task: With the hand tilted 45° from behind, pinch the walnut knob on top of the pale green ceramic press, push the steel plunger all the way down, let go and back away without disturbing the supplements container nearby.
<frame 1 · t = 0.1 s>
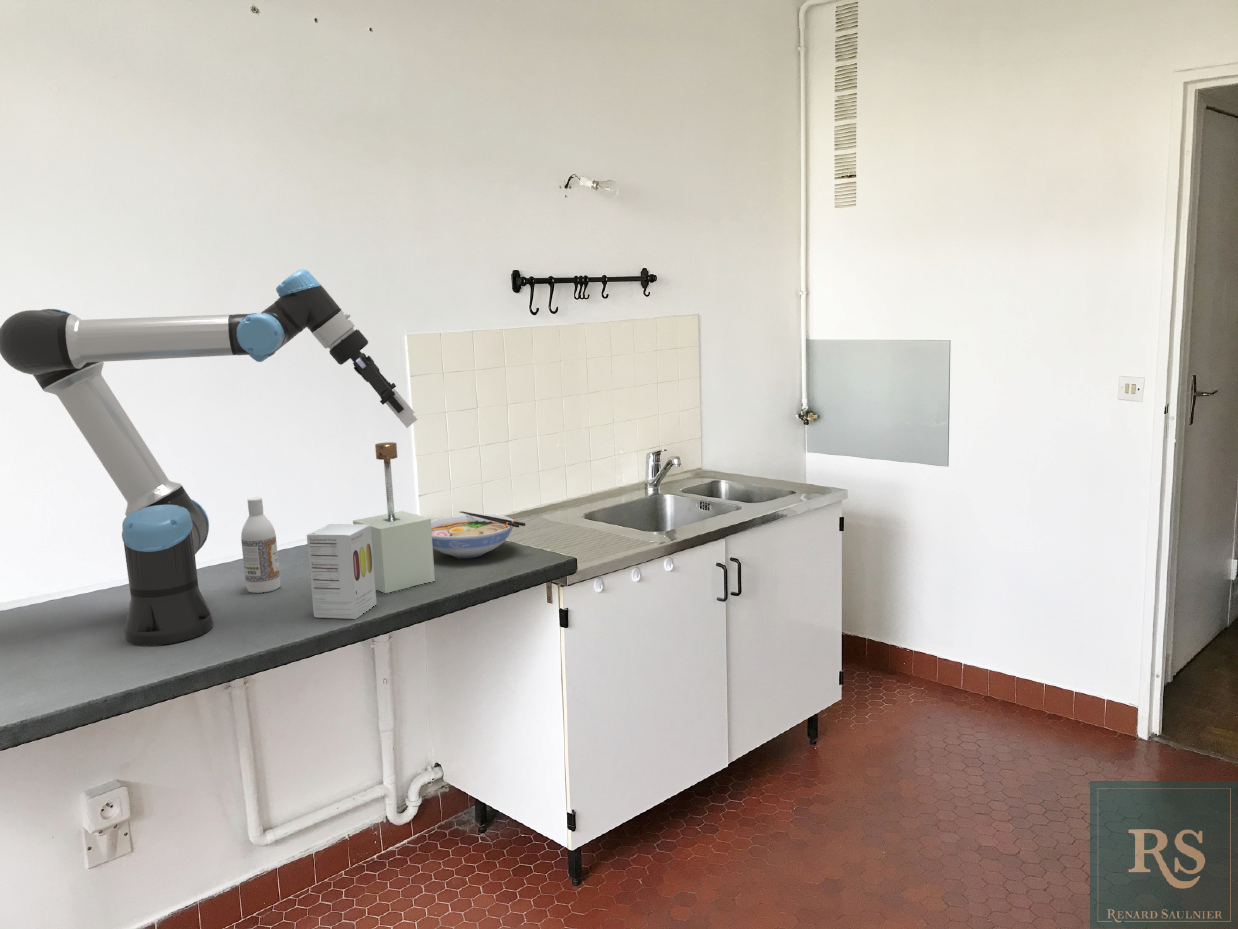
hand: (411, 420, 201), 36 cm above the table, tool tilted 35°, fingers open, 13 cm apart
bath foam: (263, 589, 210), on the table
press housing: (396, 582, 211), on the table
ramen bowl: (468, 555, 232), on the table
plunger: (389, 487, 207), point 21 cm above the table, slide at 0.0 cm
supplement box: (346, 612, 193), on the table
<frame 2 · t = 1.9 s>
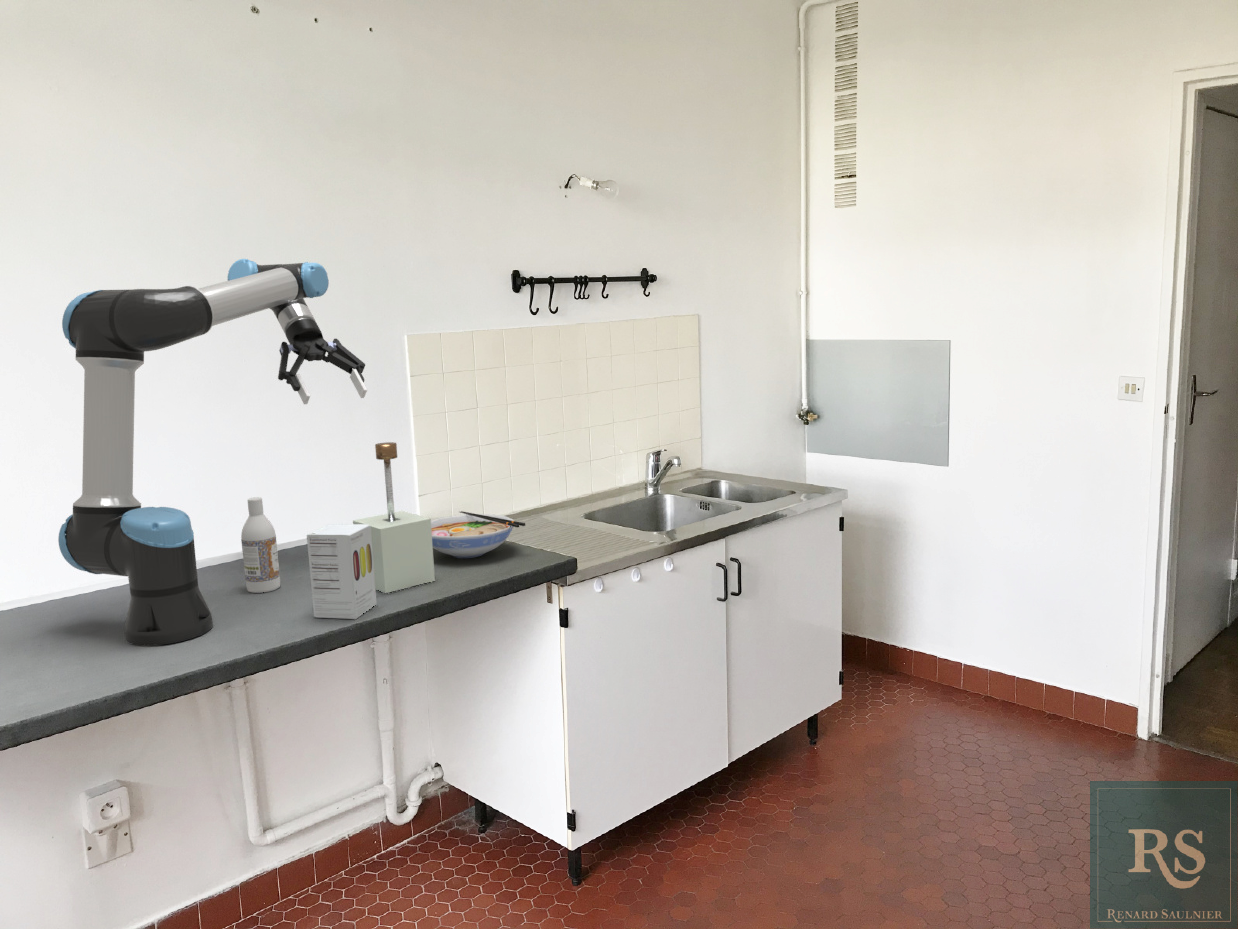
hand: (336, 397, 216), 40 cm above the table, tool tilted 45°, fingers open, 13 cm apart
nothing on the table moved.
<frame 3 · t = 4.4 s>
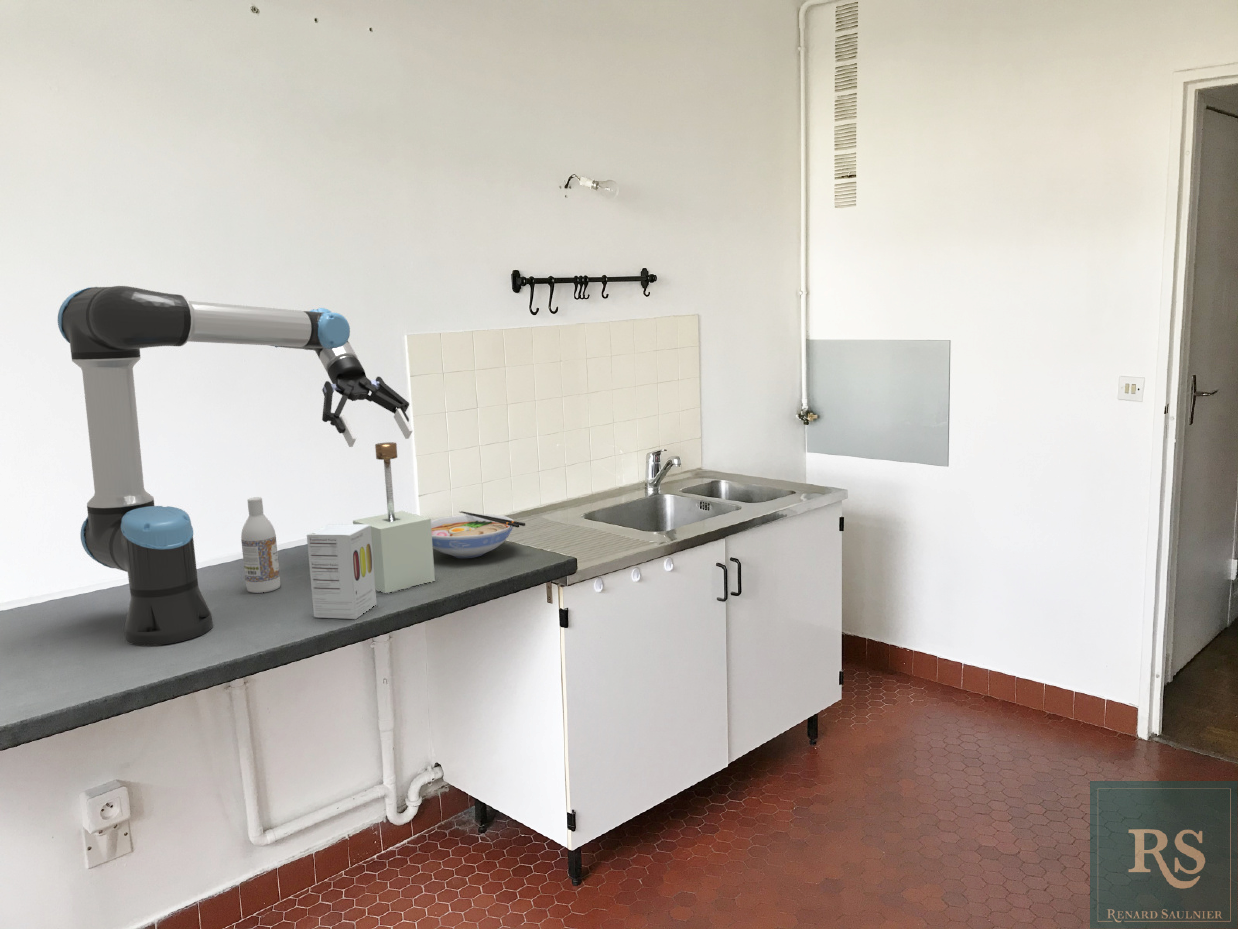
hand: (381, 438, 209), 31 cm above the table, tool tilted 45°, fingers open, 13 cm apart
nothing on the table moved.
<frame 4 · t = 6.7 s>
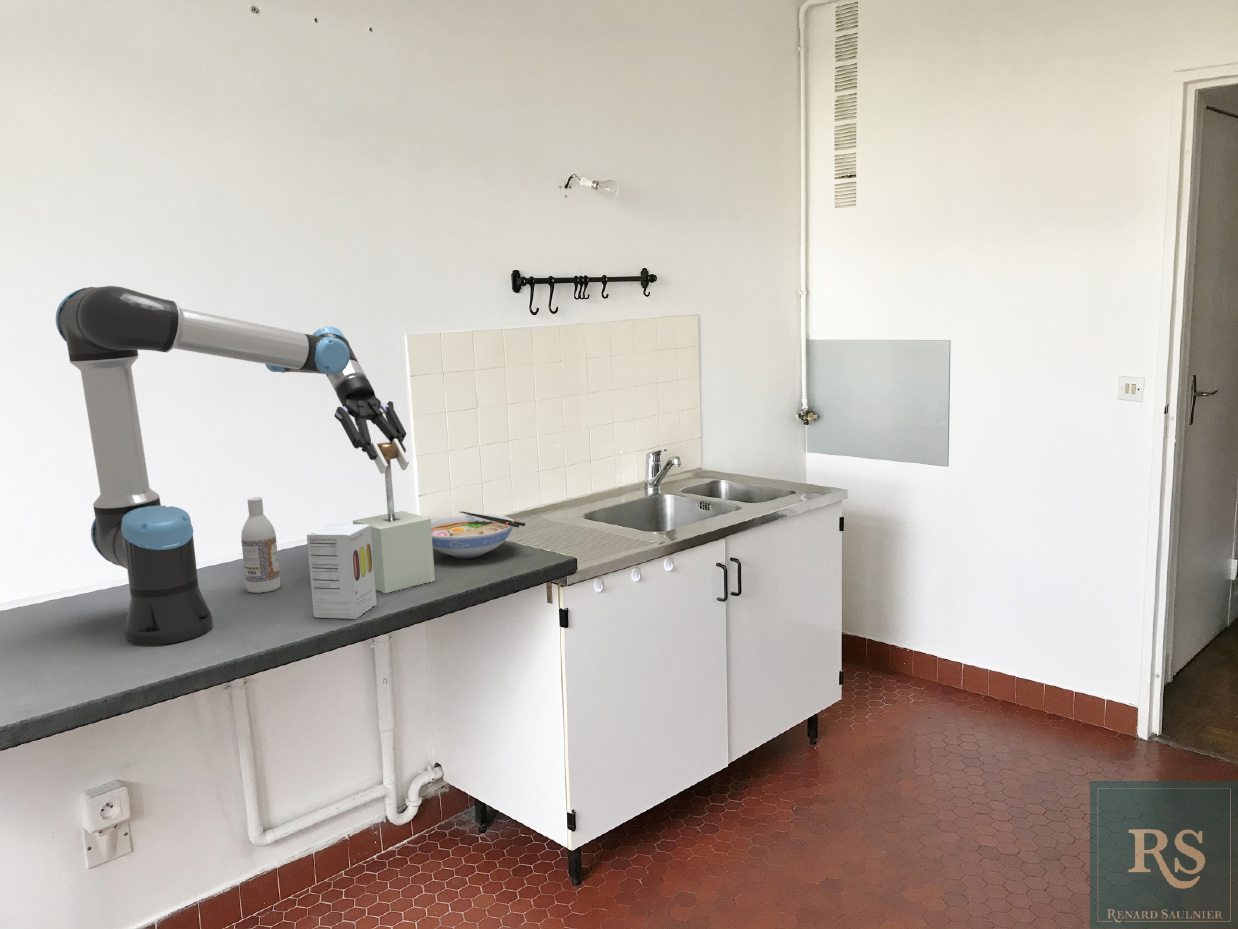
hand: (395, 467, 204), 26 cm above the table, tool tilted 45°, fingers closed on plunger, 4 cm apart
plunger: (389, 487, 207), point 21 cm above the table, slide at 0.0 cm, touching gripper
everything else where it was.
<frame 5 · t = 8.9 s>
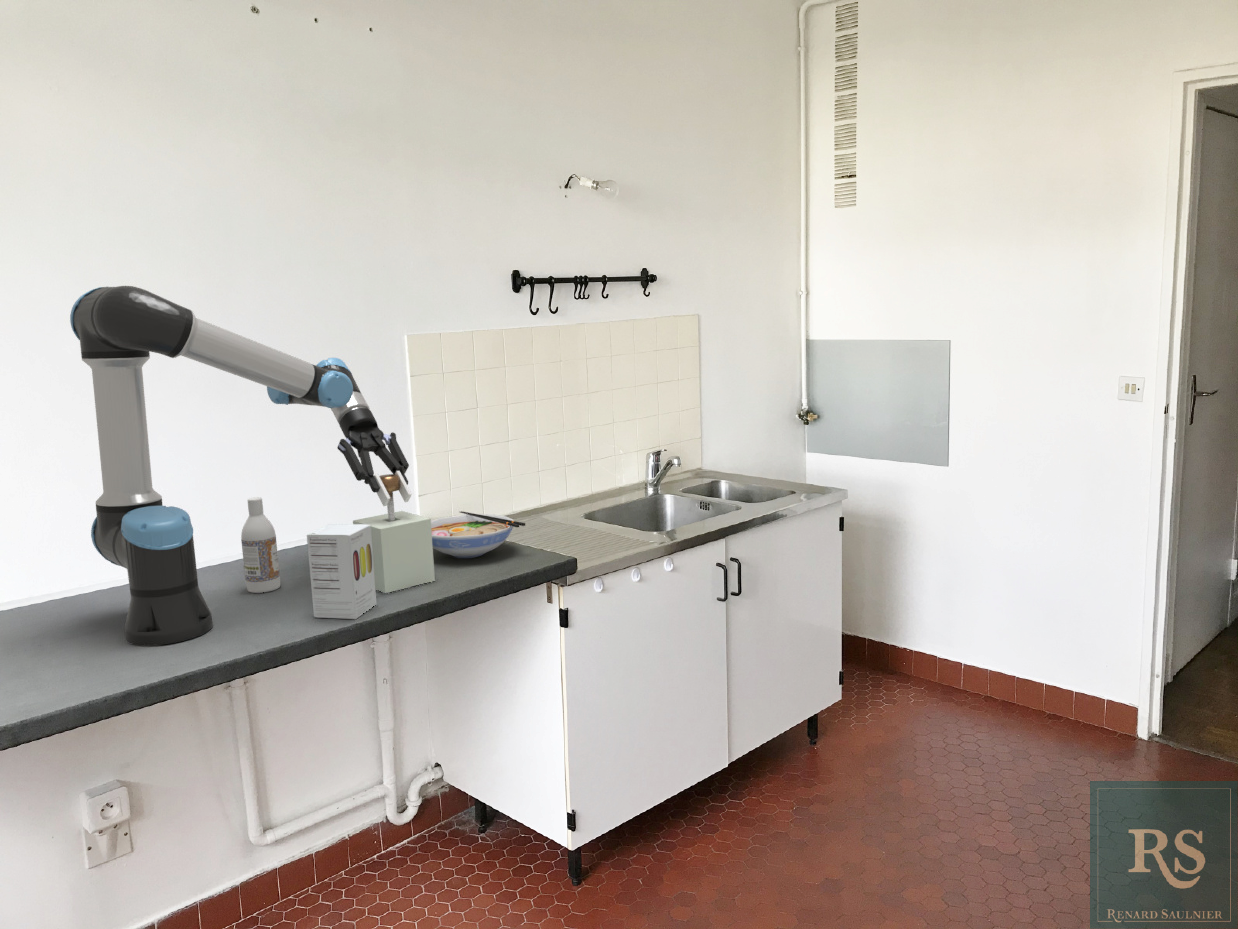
hand: (397, 500, 205), 19 cm above the table, tool tilted 45°, fingers closed on plunger, 4 cm apart
plunger: (391, 518, 209), point 14 cm above the table, slide at 7.0 cm, touching gripper
everything else where it was.
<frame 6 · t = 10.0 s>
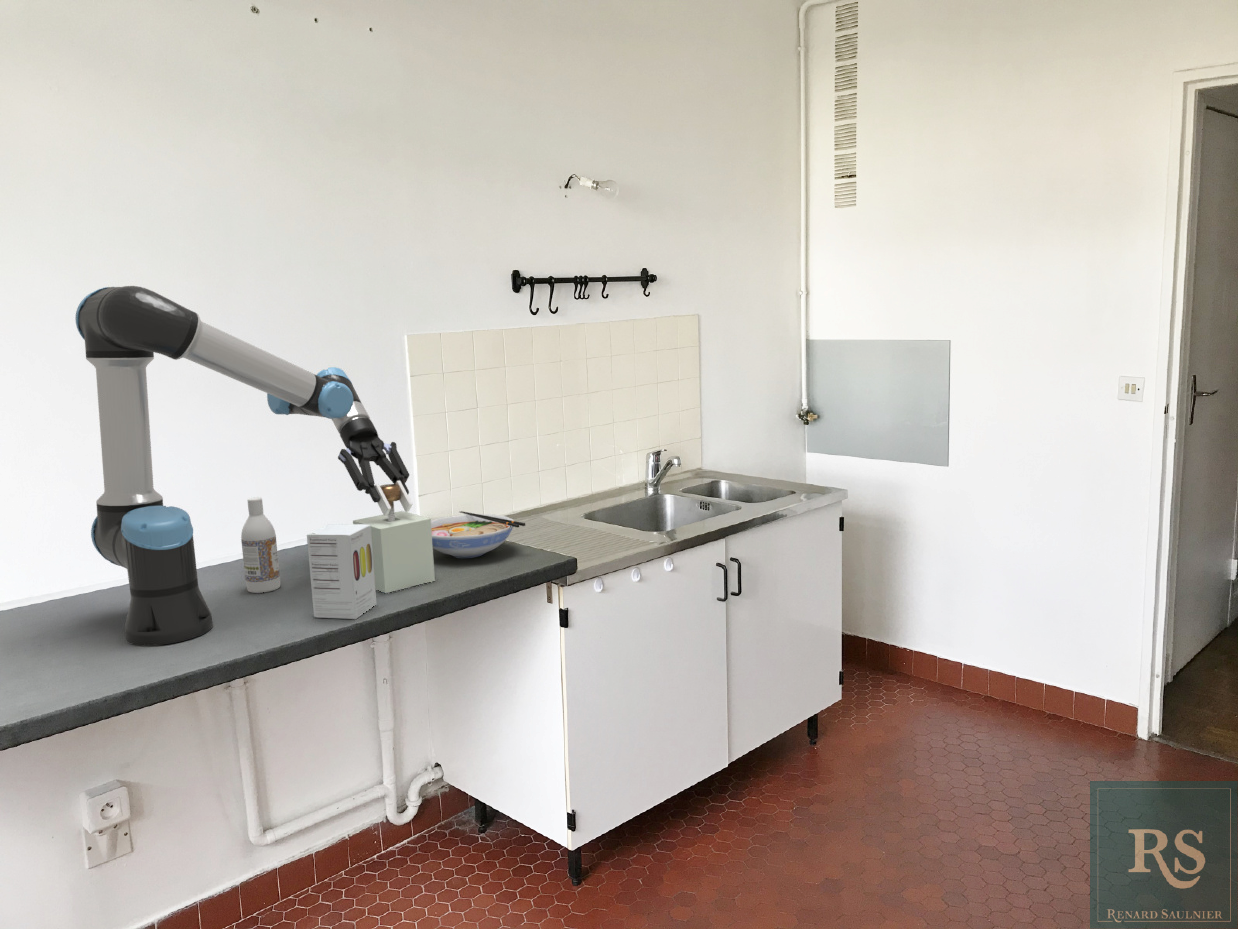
hand: (398, 509, 206), 17 cm above the table, tool tilted 45°, fingers closed on plunger, 4 cm apart
plunger: (392, 528, 209), point 12 cm above the table, slide at 9.1 cm, touching gripper
everything else where it was.
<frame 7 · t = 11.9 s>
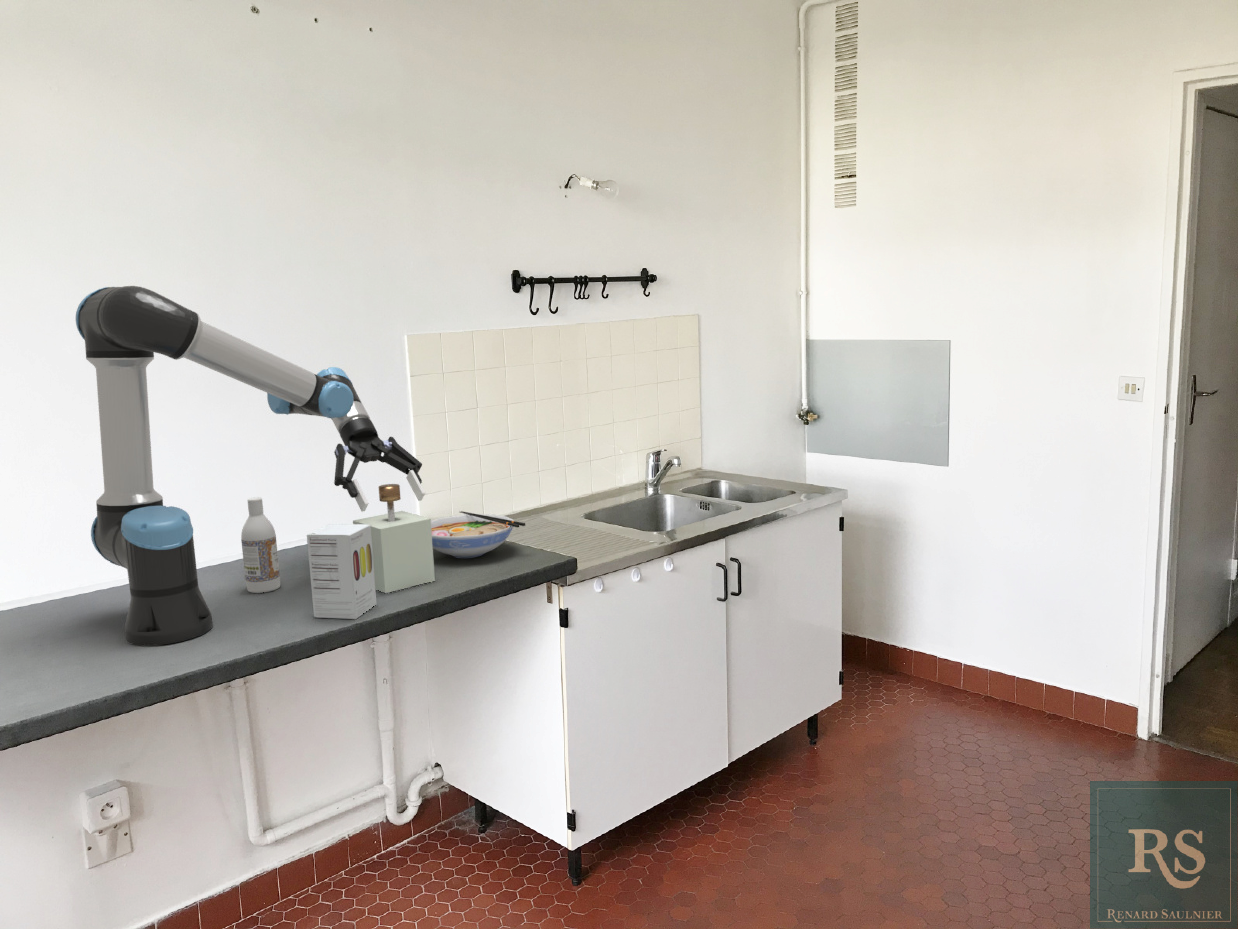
hand: (394, 502, 207), 18 cm above the table, tool tilted 45°, fingers open, 13 cm apart
plunger: (392, 528, 209), point 12 cm above the table, slide at 9.1 cm
everything else where it was.
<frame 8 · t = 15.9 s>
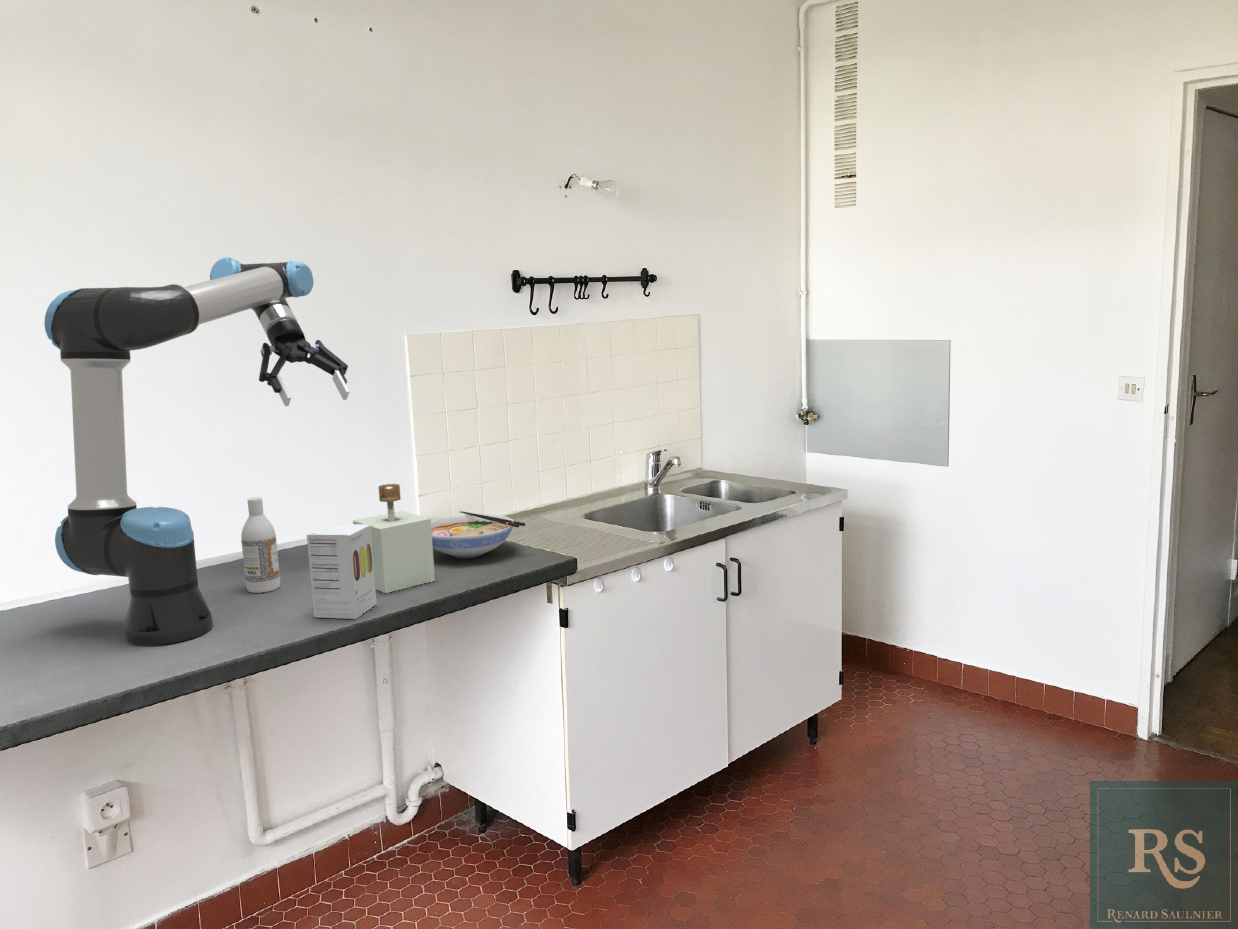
hand: (318, 399, 213), 40 cm above the table, tool tilted 45°, fingers open, 13 cm apart
nothing on the table moved.
at the end: plunger slide at 9.1 cm; the gripper is holding nothing; supplement box moved 0.3 cm from its start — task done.
